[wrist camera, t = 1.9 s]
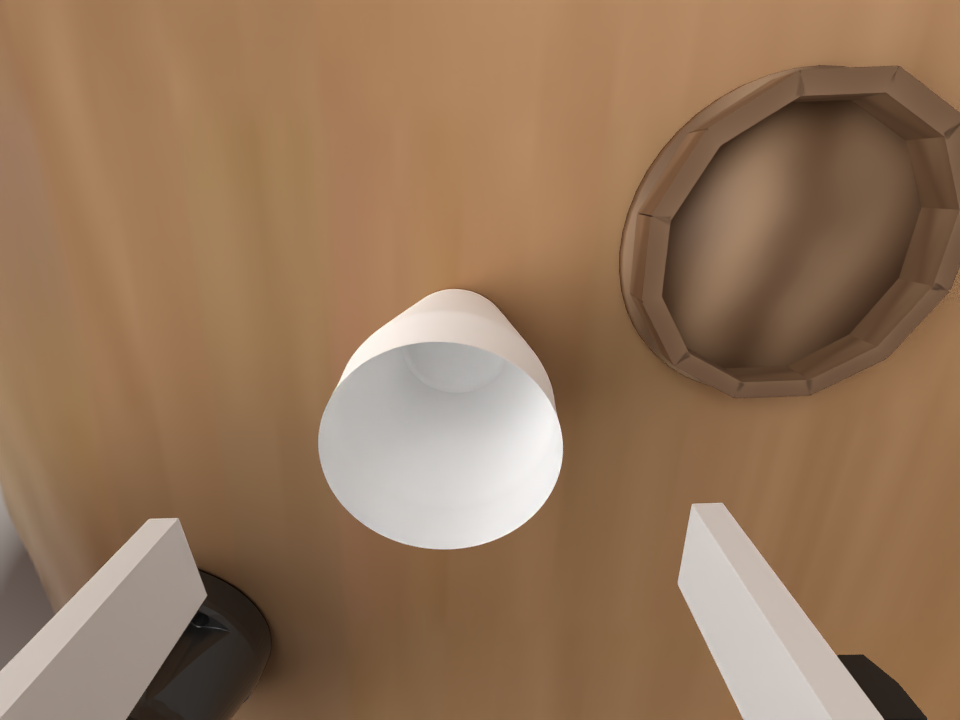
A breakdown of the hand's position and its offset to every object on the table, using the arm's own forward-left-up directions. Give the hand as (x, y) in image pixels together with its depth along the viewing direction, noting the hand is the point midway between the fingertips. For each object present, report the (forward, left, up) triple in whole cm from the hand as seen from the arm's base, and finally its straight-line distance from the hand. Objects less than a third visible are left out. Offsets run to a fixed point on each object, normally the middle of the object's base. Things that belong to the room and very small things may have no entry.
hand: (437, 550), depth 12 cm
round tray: (+18, +5, -16) cm, 25 cm away
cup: (0, 0, -17) cm, 17 cm away
